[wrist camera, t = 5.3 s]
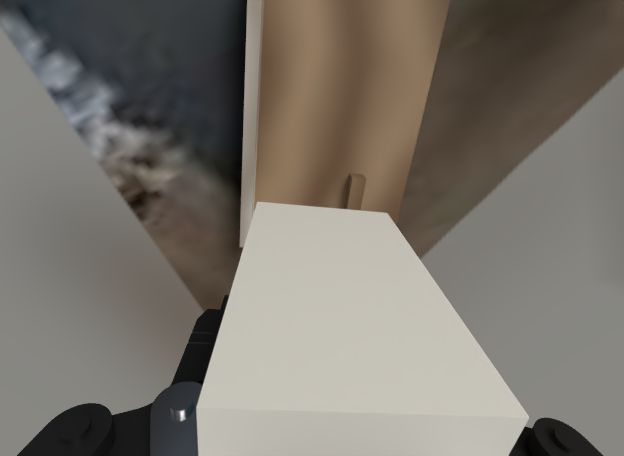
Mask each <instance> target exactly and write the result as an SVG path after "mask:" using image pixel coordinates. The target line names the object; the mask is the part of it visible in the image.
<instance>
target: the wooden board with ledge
mask: <svg viewBox="0 0 624 456" xmlns="http://www.w3.org/2000/svg"><path fill="white" fill-rule="evenodd" d="M450 1H451V0H247V25H246V58H245V90H244V122H243V154H242V187H241V219H240V247H244V245H245V241H246V238H247V235H248V231H249V228H250V224H251V221H252V218H253V214H254V211H255V208H256V204H257V202H268V203H280V204H291V205H303V206H314V207H326V208H337V209H349V210H360V211H372V212H383V213H388V215H389V216H390V218H391V219H392V221H393V222H394V223H395V225H396V224H397V220H398V216H399V212H400V208H401V204H402V200H403V195H404V191H405V187H406V183H407V179H408V175H409V171H410V166H411V162H412V158H413V154H414V150H415V146H416V142H417V137H418V133H419V129H420V125H421V121H422V117H423V113H424V108H425V104H426V100H427V96H428V92H429V88H430V84H431V79H432V75H433V71H434V67H435V63H436V59H437V55H438V50H439V46H440V42H441V38H442V34H443V30H444V26H445V21H446V17H447V13H448V9H449V5H450Z"/></svg>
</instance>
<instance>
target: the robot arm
mask: <svg viewBox="0 0 624 456" xmlns="http://www.w3.org/2000/svg"><path fill="white" fill-rule="evenodd" d="M228 299H229V295H225V297H224V300H223V303H222V306H221V309H220V310H216V309H207V310H206V311H205V312H204V313H203V314H202V315H201V316H200V317H199V318H198V319H197V321H196V324H195V326H194V329H193V332H192V334H191V336H190V339H189V342H188V344H187V346H186V349H185V351H184V354H183V356H182V359H181V361H180V364H179V366H178V369H177V371H176V374H175V376H174V379H173V382H172V384H171V386H170V387H168V388H166V389H165V390H164V391H162V392H161V393H160V394H159V395H158V396H157V398H156V399H155V401H154V402H153V403H151V404H149V405H147V406H145V407H142V408H139V409H135V410H131V411H127V412H123V413H119V414H116V415H112V414H111V412H110V411H109V409H108V408H107V407H105V406H103V405H101V404H96V403H88V404H82V405H78V406H75V407H73V408H70V409H68V410H66V411H64V412H63V413H61V414H59V415H58V416H57V417H55V418H54V419H53V420H51V421H50V422H49V423H48V424H47V425H46V426H45V427H44V428H43V429H42V430H41V431H40V432H39V434H37V435H36V436H35V437H34V438H33V440H32V441H31V442H30V443H29V444H28V445H27V446H26V447H25V448H24V449H23V450H22V451H21V452H20V453H19V454H18V455H17V456H198V436H197V414H196V407H197V404H198V400H199V397H200V393H201V390H202V387H203V383H204V380H205V376H206V373H207V370H208V366H209V363H210V360H211V356H212V353H213V349H214V346H215V343H216V339H217V336H218V333H219V329H220V326H221V322H222V319H223V316H224V312H225V309H226V306H227V302H228ZM508 456H603V455H602V454H601V453H600V452H599V451H598V450H597V449H596V448H595V447H594V446H593V445H592V444H591V443H590V442H589V441H587V439H585V437H583V436H582V435H581V434H580V433H579V432H577V431H576V430H575V429H573V428H572V427H570V426H569V425H567V424H565V423H563V422H561V421H558V420H555V419H551V418H541V419H538V420H537V421H536V422H535V424H534V426H533V428H532V429H531V428H528V427H524V429H523V430H522V432H521V434H520V436H519V438H518V439H517V441H516V443H515V445H514V447H513V448H512V450H511V452H510V454H509V455H508Z"/></svg>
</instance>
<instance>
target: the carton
mask: <svg viewBox="0 0 624 456" xmlns="http://www.w3.org/2000/svg"><path fill="white" fill-rule="evenodd" d="M196 414H197V436H198V456H508V455H509V454H510V452H511V450H512V448H513V447H514V445H515V443H516V441H517V439H518V438H519V436H520V434H521V432H522V430H523V429H524V427H525V425H526V423H527V421H528V420H529V416H528V415H527V413H526V412H525V411H524V409H523V408H522V406H521V405H520V403H519V402H518V400H517V399H516V398H515V396H514V395H513V393H512V392H511V390H510V389H509V387H508V386H507V384H506V383H505V382H504V380H503V379H502V377H501V376H500V374H499V373H498V372H497V370H496V369H495V367H494V366H493V364H492V363H491V362H490V360H489V359H488V357H487V356H486V354H485V353H484V351H483V350H482V349H481V347H480V346H479V344H478V343H477V341H476V340H475V339H474V337H473V336H472V334H471V333H470V331H469V330H468V329H467V327H466V326H465V324H464V323H463V321H462V320H461V318H460V317H459V315H458V314H457V313H456V311H455V310H454V308H453V307H452V306H451V304H450V302H449V301H448V300H447V298H446V297H445V295H444V294H443V292H442V291H441V290H440V288H439V287H438V285H437V284H436V282H435V281H434V279H433V278H432V277H431V275H430V274H429V272H428V271H427V270H426V268H425V267H424V265H423V264H422V262H421V261H420V259H419V258H418V256H417V255H416V254H415V252H414V251H413V249H412V248H411V246H410V245H409V244H408V242H407V241H406V239H405V238H404V236H403V235H402V233H401V232H400V231H399V229H398V228H397V226H396V225H395V223H394V222H393V221H392V219H391V218H390V216H389V215H388V213H383V212H372V211H360V210H349V209H337V208H326V207H314V206H303V205H291V204H280V203H268V202H257V204H256V208H255V211H254V214H253V218H252V221H251V224H250V228H249V231H248V235H247V238H246V241H245V245H244V248H243V251H242V255H241V258H240V262H239V265H238V268H237V272H236V275H235V278H234V282H233V285H232V289H231V292H230V295H229V299H228V302H227V306H226V309H225V312H224V316H223V319H222V322H221V326H220V329H219V333H218V336H217V339H216V343H215V346H214V349H213V353H212V356H211V360H210V363H209V366H208V370H207V373H206V376H205V380H204V383H203V387H202V390H201V393H200V397H199V400H198V404H197V407H196Z"/></svg>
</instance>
